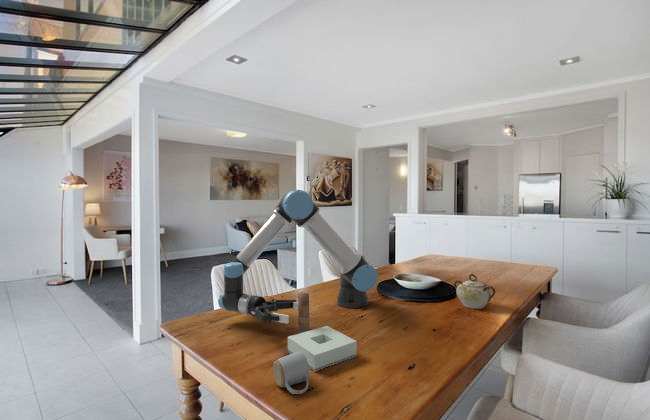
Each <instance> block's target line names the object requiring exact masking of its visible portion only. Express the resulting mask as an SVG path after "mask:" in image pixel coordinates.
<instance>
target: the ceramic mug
mask: <svg viewBox="0 0 650 420" xmlns="http://www.w3.org/2000/svg"><path fill="white" fill-rule="evenodd" d="M272 372H273V373H272V375H273V378H274V381H275V383H276V384H277V386H278V387H280V388H286V390H287V391H289V393H290V394H292V395H294V394H301V393H303V392H305V391H306V390H307V391H308V388H309V378H310V374H311V373H310V368H309V365H308V361H307V359H306V357H305V355H304V354H303V352H301V351H297V352H295V353H292V354H290V353H289V354H288V355H285V356H283V357H280V358H278V359H276V360H275V361H274V362H273V365H272ZM302 382H305V384H306V385H305V387H304V388H303V389H300V390H296V389H294V388H292V387H291V386H294V385H297V384H300V383H302ZM307 391H306V392H307ZM306 392H305V393H306ZM301 395H302V394H301Z"/></svg>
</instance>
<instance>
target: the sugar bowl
mask: <svg viewBox="0 0 650 420" xmlns="http://www.w3.org/2000/svg"><path fill="white" fill-rule="evenodd" d="M472 277H473V278H474V279H473V278H472ZM468 278H469V280H466V281H461V280H458V279H457V280H454V283H453V287H454V289H455V291H456V296H457V297H458V299H459V300H460V302H461V303H462V305H463V306H464V307H466V308H469V309H475V310H476V309H477V310H479V309H484V308H485V307H486V305H487V304H488V303H489V302H490V301H491V299H492V298H494V296H495V294H496V289H495V288H494V286H491V285H489V286H488V285H487V284H486V283H483V282H482V281H478V277H477V276H476V275H475V274H474V273H470V274H469V277H468Z"/></svg>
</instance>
